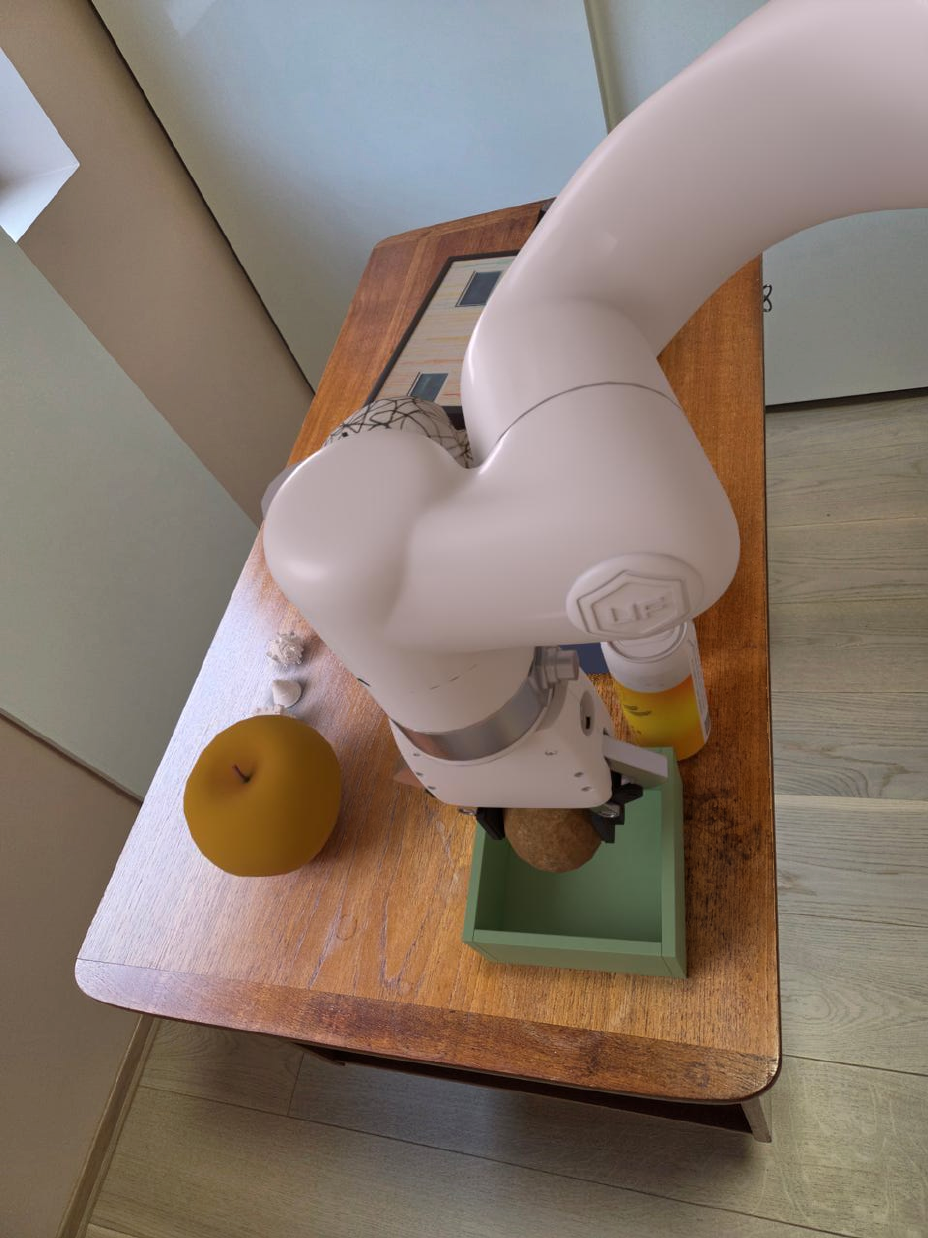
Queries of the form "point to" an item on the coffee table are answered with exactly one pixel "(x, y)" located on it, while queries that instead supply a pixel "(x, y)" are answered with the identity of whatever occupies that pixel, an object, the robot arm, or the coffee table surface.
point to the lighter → (543, 212)
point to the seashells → (284, 691)
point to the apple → (263, 796)
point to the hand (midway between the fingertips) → (554, 817)
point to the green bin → (589, 897)
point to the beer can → (662, 689)
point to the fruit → (552, 836)
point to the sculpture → (409, 424)
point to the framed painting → (443, 334)
